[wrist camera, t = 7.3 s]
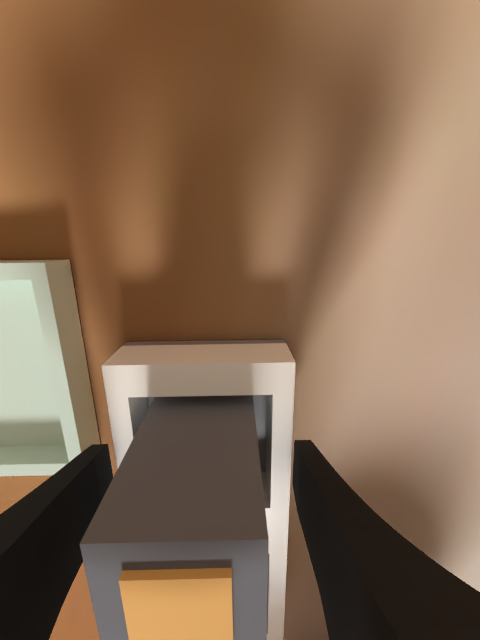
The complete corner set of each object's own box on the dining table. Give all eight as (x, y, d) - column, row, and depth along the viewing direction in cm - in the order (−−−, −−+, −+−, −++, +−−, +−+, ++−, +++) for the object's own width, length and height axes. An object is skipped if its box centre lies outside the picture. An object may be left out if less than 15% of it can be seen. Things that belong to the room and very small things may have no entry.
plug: (168, 459, 14) (102, 676, 7) (161, 383, 13) (74, 554, 6) (251, 457, 14) (267, 671, 7) (251, 382, 13) (269, 549, 6)
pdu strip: (158, 596, 17) (145, 654, 15) (126, 341, 13) (101, 365, 10) (276, 593, 17) (282, 650, 15) (284, 339, 13) (295, 362, 10)
